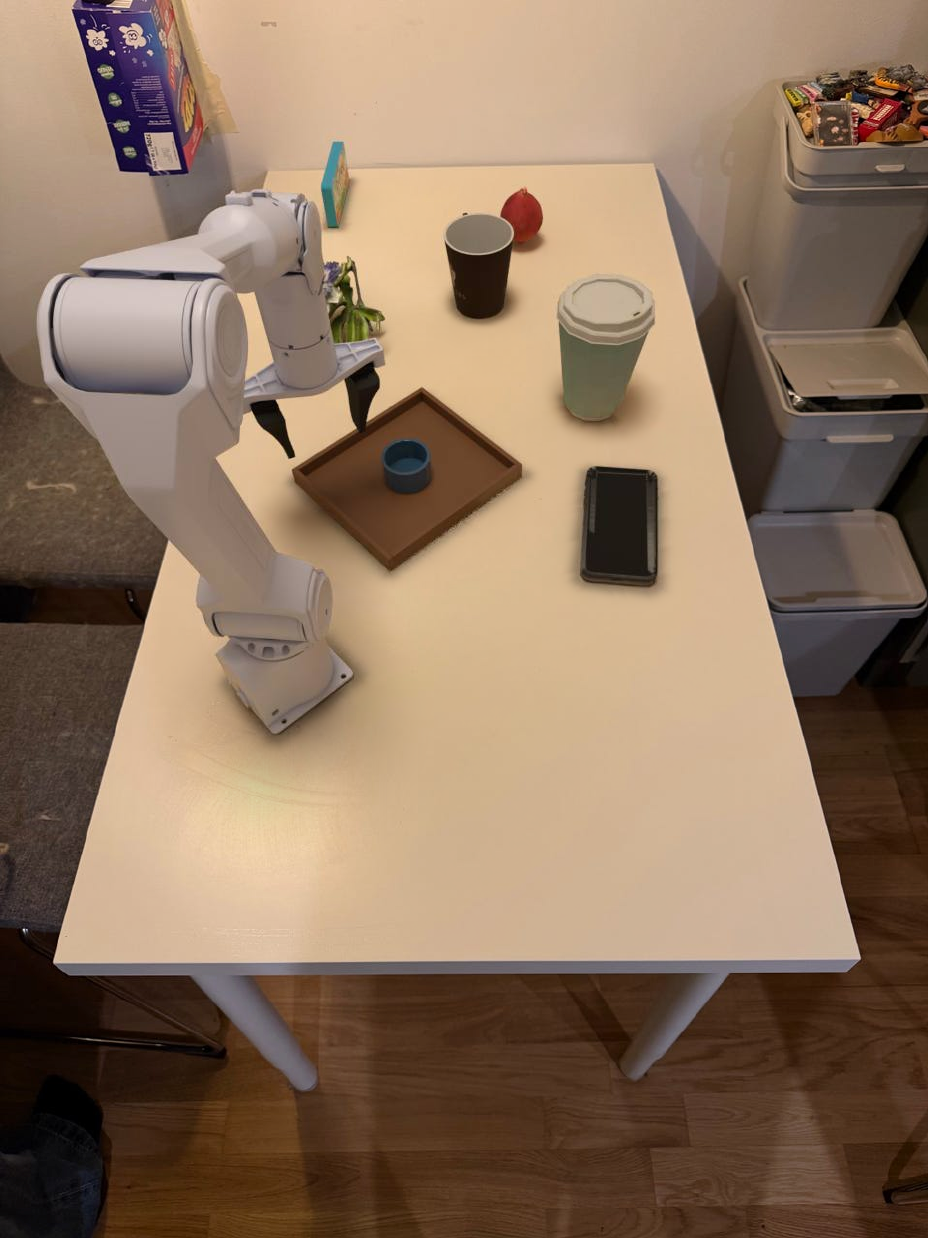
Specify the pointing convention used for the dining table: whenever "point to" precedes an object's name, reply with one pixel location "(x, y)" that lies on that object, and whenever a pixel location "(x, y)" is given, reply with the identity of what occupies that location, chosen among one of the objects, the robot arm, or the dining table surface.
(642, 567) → the phone
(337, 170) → the teal picture box
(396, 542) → the tray
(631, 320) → the disposable coffee cup
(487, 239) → the coffee mug
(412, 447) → the dish
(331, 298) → the passion flower
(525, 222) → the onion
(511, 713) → the dining table surface
